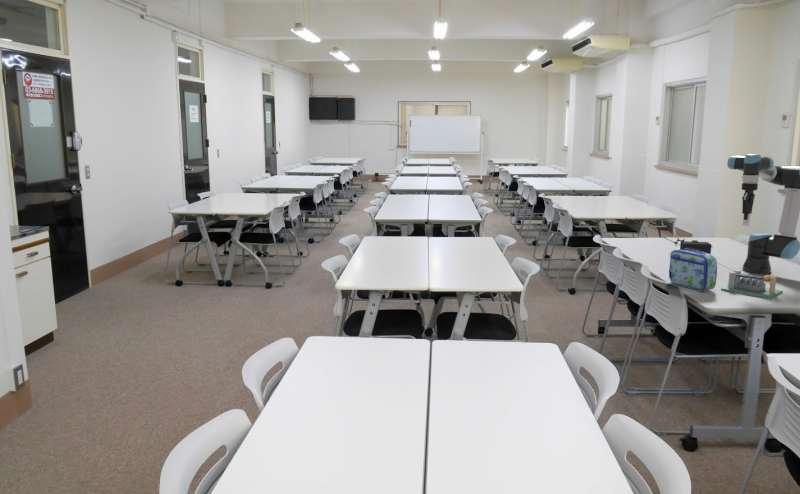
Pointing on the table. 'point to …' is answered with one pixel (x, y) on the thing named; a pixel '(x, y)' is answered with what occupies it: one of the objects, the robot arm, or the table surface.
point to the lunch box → (693, 269)
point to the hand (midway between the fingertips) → (745, 225)
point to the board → (767, 293)
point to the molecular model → (677, 242)
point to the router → (696, 246)
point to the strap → (755, 277)
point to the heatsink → (751, 285)
